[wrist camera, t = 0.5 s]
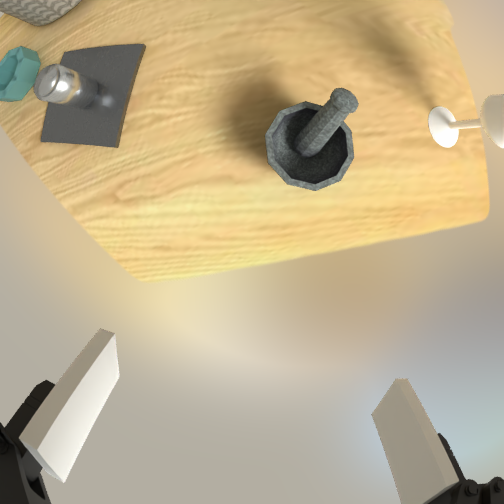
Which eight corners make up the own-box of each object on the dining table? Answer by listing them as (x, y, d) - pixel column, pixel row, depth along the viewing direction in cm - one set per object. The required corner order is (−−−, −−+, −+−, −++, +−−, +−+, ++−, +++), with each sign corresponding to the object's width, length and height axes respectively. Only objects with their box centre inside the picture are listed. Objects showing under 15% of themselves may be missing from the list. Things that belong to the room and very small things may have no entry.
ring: (16, 57, 26) (1, 53, 22) (46, 49, 27) (29, 42, 22) (3, 103, 29) (-14, 101, 25) (30, 98, 30) (12, 96, 25)
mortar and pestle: (312, 199, 35) (338, 215, 24) (250, 163, 34) (247, 161, 23) (353, 130, 32) (393, 117, 21) (293, 92, 31) (309, 60, 20)
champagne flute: (461, 146, 32) (579, 155, 9) (433, 149, 32) (562, 156, 9) (453, 106, 30) (567, 92, 7) (423, 106, 30) (546, 81, 7)
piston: (67, 53, 28) (28, 36, 18) (146, 46, 29) (114, 16, 18) (44, 141, 33) (-1, 142, 22) (118, 147, 33) (74, 145, 23)
